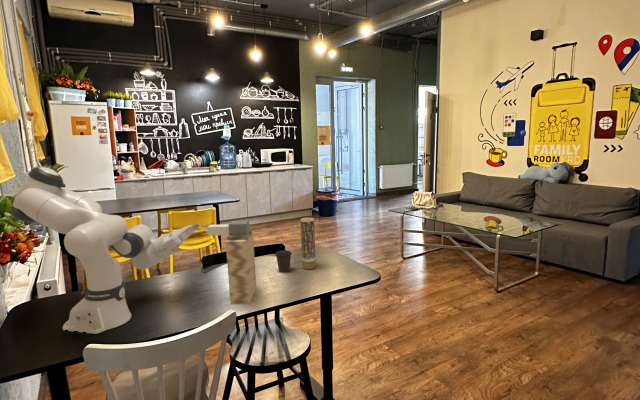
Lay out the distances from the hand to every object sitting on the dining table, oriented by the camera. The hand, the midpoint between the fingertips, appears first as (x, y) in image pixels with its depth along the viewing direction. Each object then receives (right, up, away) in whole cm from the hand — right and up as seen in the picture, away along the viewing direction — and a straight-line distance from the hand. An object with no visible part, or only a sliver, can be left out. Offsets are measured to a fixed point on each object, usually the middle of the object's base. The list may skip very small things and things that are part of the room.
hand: (194, 227), depth 157 cm
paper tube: (+46, -23, +36) cm, 62 cm away
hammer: (+14, -4, 0) cm, 15 cm away
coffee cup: (+34, -24, +32) cm, 52 cm away
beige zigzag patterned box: (+19, -29, +5) cm, 35 cm away
